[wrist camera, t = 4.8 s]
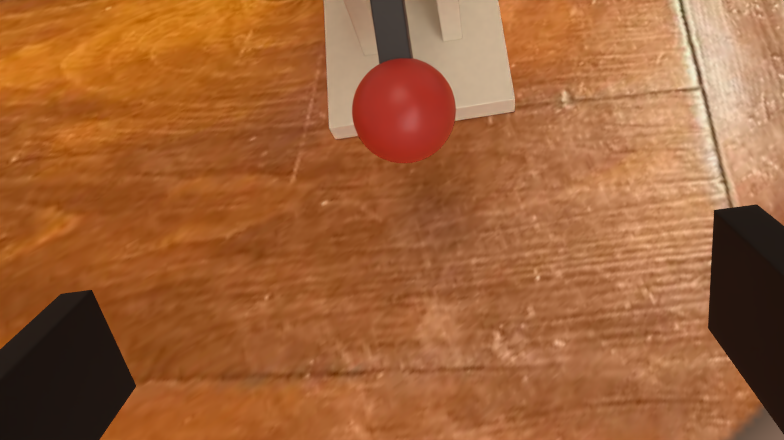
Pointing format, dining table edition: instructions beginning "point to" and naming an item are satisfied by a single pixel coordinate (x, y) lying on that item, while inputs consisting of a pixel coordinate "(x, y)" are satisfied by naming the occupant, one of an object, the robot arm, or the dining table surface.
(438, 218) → the dining table surface
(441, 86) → the switch lever
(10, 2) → the dining table surface
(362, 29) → the switch bracket
